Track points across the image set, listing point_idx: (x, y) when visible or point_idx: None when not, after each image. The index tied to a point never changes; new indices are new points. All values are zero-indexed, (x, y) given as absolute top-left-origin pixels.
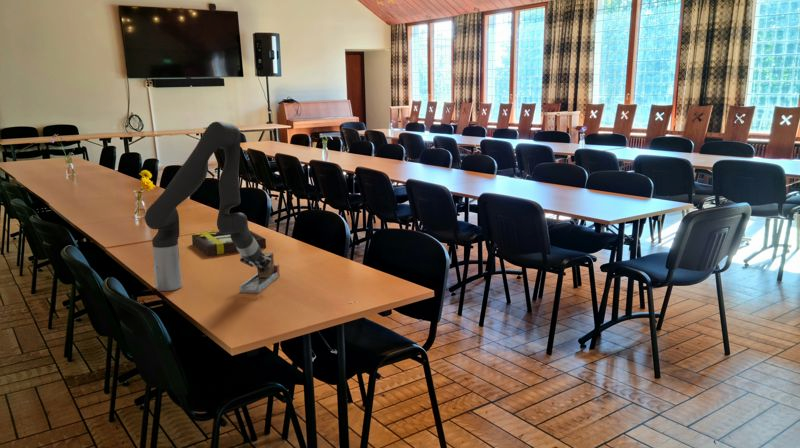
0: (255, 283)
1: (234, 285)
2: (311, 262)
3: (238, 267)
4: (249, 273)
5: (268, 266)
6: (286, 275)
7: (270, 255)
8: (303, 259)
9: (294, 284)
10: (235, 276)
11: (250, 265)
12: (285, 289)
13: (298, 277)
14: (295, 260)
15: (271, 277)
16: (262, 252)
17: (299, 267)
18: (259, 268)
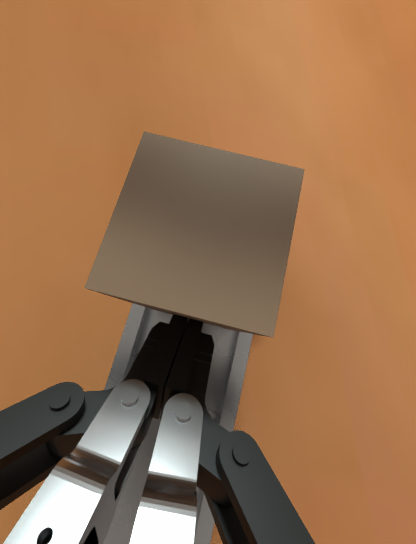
0: (151, 440)
1: (23, 392)
2: (378, 47)
3: (39, 77)
4: (100, 174)
5: (237, 330)
6: (301, 230)
7: (283, 263)
8: (330, 5)
9: (386, 411)
10: (27, 216)
11: (50, 452)
12: (355, 522)
13: (375, 273)
14: (297, 14)
15: (247, 353)
16: (157, 138)
17: (339, 110)
18: (162, 403)
